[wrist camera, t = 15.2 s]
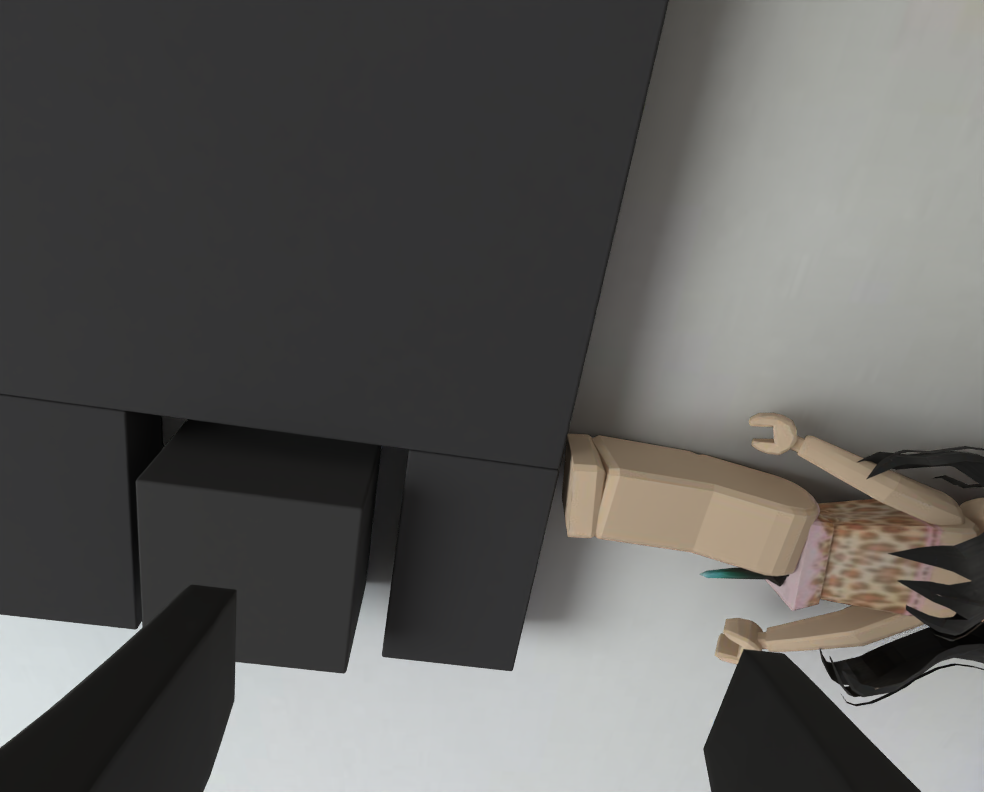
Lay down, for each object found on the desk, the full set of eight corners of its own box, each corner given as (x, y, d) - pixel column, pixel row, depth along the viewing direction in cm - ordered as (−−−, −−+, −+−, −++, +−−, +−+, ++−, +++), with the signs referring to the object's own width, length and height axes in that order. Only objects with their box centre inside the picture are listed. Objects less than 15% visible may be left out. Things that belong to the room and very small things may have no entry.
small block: (365, 584, 21) (345, 675, 18) (194, 564, 21) (142, 653, 17) (382, 437, 19) (363, 509, 16) (193, 411, 19) (133, 480, 15)
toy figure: (549, 605, 22) (1041, 631, 22) (564, 767, 16) (1244, 805, 16) (566, 383, 20) (1110, 408, 19) (589, 472, 14) (1377, 510, 13)
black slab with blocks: (509, 622, 22) (512, 672, 20) (36, 567, 21) (-7, 614, 19) (887, -1073, 10) (983, -1340, 8) (-204, -1431, 9) (-391, -1844, 7)
